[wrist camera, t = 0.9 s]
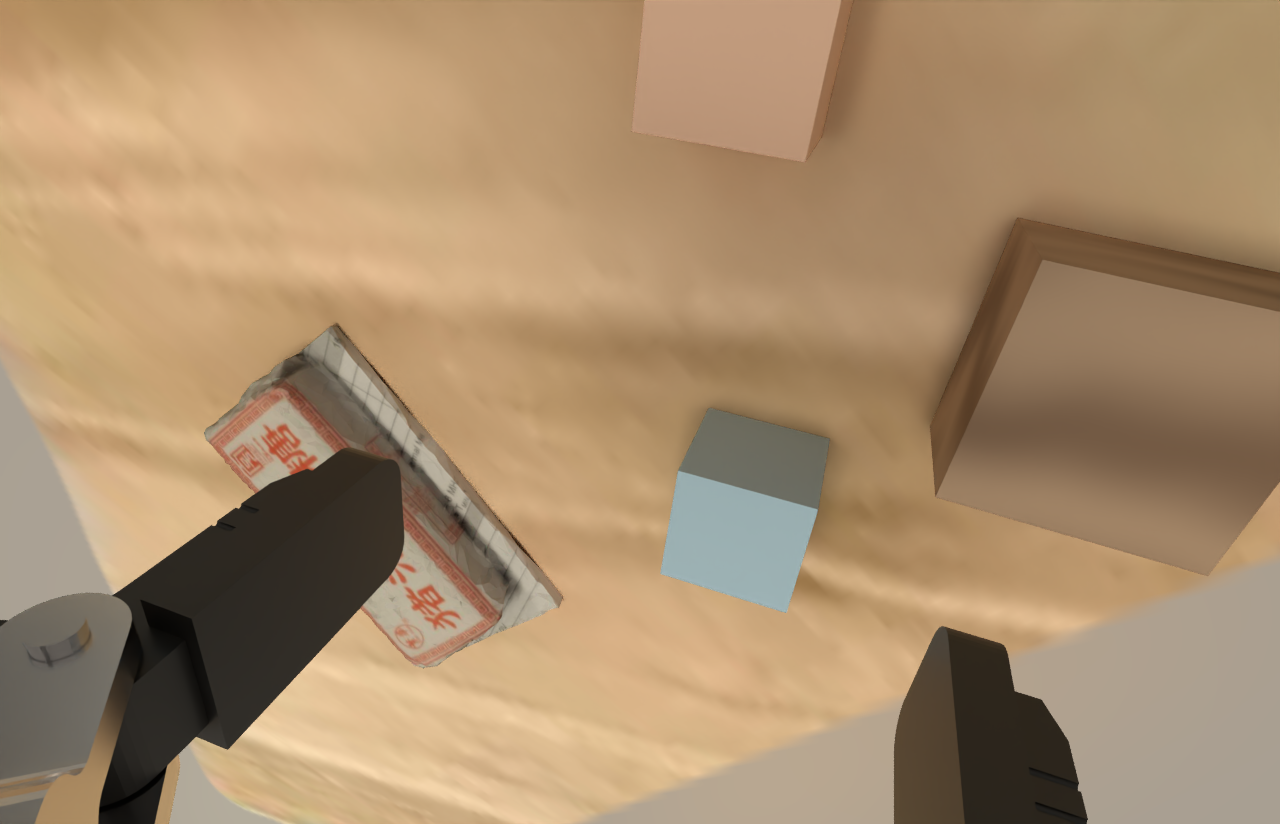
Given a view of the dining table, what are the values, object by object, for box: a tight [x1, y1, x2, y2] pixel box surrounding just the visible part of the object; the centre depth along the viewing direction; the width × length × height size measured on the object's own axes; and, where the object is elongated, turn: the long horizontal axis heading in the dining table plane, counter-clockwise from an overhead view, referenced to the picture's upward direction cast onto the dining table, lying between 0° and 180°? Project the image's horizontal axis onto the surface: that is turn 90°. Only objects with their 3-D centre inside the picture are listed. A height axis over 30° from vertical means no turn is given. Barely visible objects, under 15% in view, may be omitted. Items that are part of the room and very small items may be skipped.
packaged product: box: [204, 326, 563, 668], centre depth 36 cm, size 18×5×10 cm
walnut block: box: [930, 218, 1280, 576], centre depth 22 cm, size 8×8×5 cm
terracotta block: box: [632, 0, 853, 162], centre depth 21 cm, size 5×5×5 cm
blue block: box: [660, 408, 830, 613], centre depth 28 cm, size 5×5×5 cm
